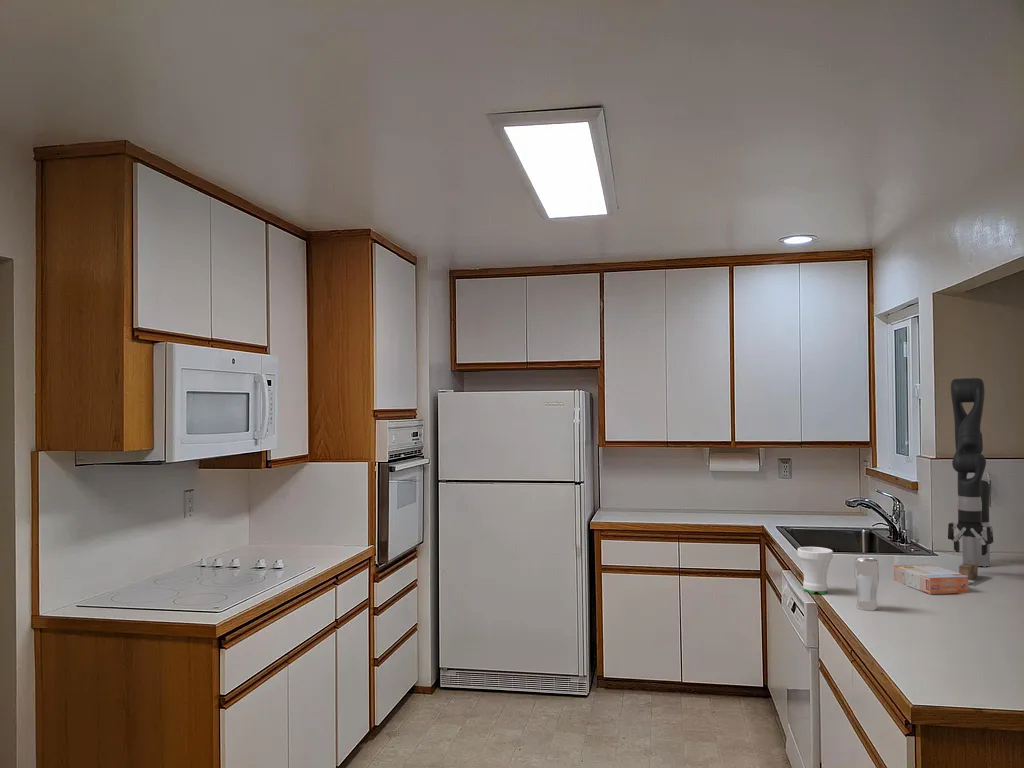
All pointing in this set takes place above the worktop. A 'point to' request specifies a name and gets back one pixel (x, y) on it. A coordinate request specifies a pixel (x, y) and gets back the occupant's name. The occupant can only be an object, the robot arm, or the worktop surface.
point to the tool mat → (979, 580)
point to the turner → (969, 571)
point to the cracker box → (931, 579)
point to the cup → (815, 568)
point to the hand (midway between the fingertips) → (970, 553)
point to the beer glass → (866, 583)
